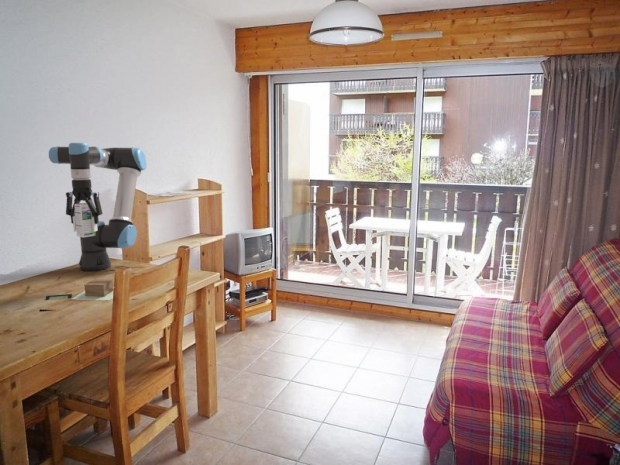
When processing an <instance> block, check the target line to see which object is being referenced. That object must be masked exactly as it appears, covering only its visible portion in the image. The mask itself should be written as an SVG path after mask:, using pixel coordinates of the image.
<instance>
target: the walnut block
mask: <svg viewBox="0 0 620 465" xmlns="http://www.w3.org/2000/svg"><path fill="white" fill-rule="evenodd" d="M113 280H114V279H112V278H105V279H104V278H94V279H91V280H90V281H88V282H87V283H86V282H85V284H84V291H85V296H94V297H105V296H106V295H108V294H109V293H111V292H112V291H113V288H114V281H113Z"/></svg>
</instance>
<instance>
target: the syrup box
mask: <svg viewBox="0 0 620 465" xmlns="http://www.w3.org/2000/svg"><path fill="white" fill-rule="evenodd" d="M74 206H75V211H74V213H75V222H76V231H75V232H76V236H77V237H79V238H80V237H83V238H84V237H90V236H95V235H96V234H95V232H93V227H92V217H93V214H92V212H91V210H90V208H89V206H88V204H87V203H86V202H82V203H81V202H80V203H79V204H75V205H74Z"/></svg>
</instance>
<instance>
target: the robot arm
mask: <svg viewBox="0 0 620 465" xmlns="http://www.w3.org/2000/svg"><path fill="white" fill-rule="evenodd" d="M48 158H49V161H50V162H51V163H53V164H58V165H60V164H62V165H63V164H64V165H65V164H66V165H68V164H69V165H70V176H71V188H72V191H68V192H65V196H66V207H65V215H66V216H69V217H70V221H71V224H73V226H72V227H73V232H77V231H76V222H75V213H74V211H75V206H74V205H75V204H79V203H81V201H84V203H87V204H88V206H89V208H90V210H91V212H92V214H93V217H92V227H93V232H95V234H96V235H95V236H90V237H84V238H83V237H79V240H80V248H81V256H80V258H79V263H78V269H79V270H80V271H83V272H93V271H94V272H95V271H96V272H97V271H101V270H107V269H109V268H111V267H112V261H111V259H110V256H109V254H108V251H107V248H109V249H129V248H131V247H132V246H134V244H135V242H136V240H137V235H138V234H137V227H136V226H135V225H134V222H133V221H132V214H133V208H134V199H135V193H136V186H137V179H138V177H140V176H141V174H142V173H141V172H142V171H145V170H146V168H147V158H146V154H145V152H144V150H143V149H141V148H140V147H139V148H138V147H107V148H100V147H97V146H89V144H88V143H87V142H70V143H69V144H68V146H58V145H57V146H51V147H50V148H49V150H48ZM90 166H94V167H96V168H103V169H108V170H115V171H116V172H117V173H118V174H119V177H118V182H117V188H116V189H117V190H116V196H115V203H114V208H113V213H112V214H113V215H112V217H111V218H109V220H108V224H106V223H105V221H103V220H102V221H100V220H99V216H102V215H103V210H102V209H103V208H102V205H101V200H100V197H99V196H100V192H98V191H97V192H95V191H93V190H92V180H91V177H92V176H91V167H90ZM73 198H74V200H73ZM92 198H93V199H92Z"/></svg>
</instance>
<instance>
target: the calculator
mask: <svg viewBox="0 0 620 465" xmlns="http://www.w3.org/2000/svg"><path fill="white" fill-rule="evenodd" d="M72 298H73V294H72V293H68V294H67V293H66V294H55V295H46V296H45V301H50V300H52V301H53V300H65V299H66V300H67V299H72ZM38 311H39V312H49V311H53V312H54V311H55V309H41V308H40V309H39V310H38Z"/></svg>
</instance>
